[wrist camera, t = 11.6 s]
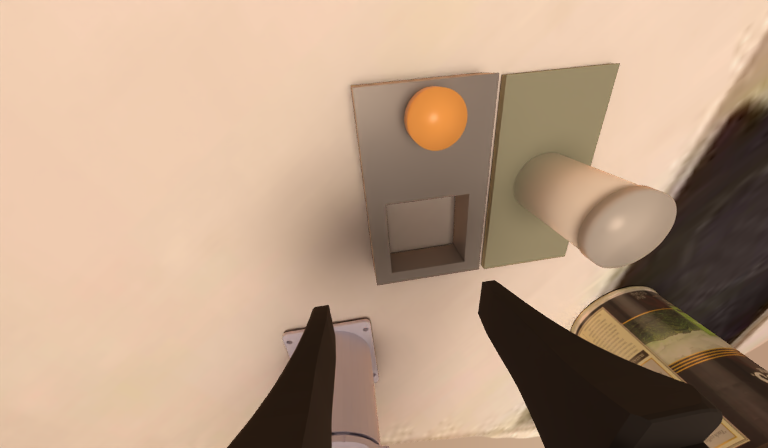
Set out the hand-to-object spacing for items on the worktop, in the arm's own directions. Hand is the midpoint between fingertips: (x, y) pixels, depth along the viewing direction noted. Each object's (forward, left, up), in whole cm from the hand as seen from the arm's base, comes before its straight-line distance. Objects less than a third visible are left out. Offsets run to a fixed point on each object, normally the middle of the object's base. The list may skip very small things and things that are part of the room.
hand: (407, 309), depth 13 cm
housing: (+2, -3, -10) cm, 10 cm away
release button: (+7, -3, -9) cm, 12 cm away
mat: (+1, -12, -10) cm, 15 cm away
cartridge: (+1, -12, -9) cm, 15 cm away
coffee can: (-17, -25, -10) cm, 32 cm away
